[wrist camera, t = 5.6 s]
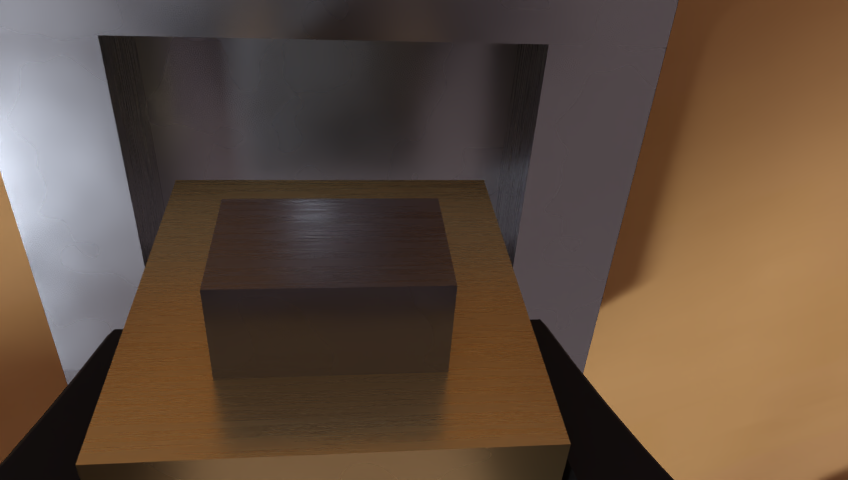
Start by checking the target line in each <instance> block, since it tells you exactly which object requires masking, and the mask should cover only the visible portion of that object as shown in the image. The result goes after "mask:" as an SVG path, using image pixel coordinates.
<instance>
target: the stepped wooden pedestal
mask: <svg viewBox="0 0 848 480" xmlns="http://www.w3.org/2000/svg"><path fill="white" fill-rule="evenodd" d="M570 445H571V443H570V440H569V437H568V434H567V431H566V428H565V425H564V422H563V419H562V416H561V413H560V410H559V407H558V404H557V401H556V398H555V395H554V392H553V389H552V386H551V383H550V379H549V376H548V373H547V370H546V367H545V364H544V361H543V358H542V355H541V352H540V349H539V346H538V343H537V340H536V337H535V334H534V331H533V328H532V325H531V322H530V319H529V316H528V313H527V310H526V307H525V304H524V301H523V298H522V294H521V291H520V288H519V285H518V282H517V279H516V276H515V273H514V270H513V267H512V264H511V261H510V258H509V255H508V252H507V249H506V246H505V243H504V240H503V237H502V234H501V231H500V228H499V225H498V222H497V219H496V216H495V213H494V209H493V206H492V203H491V200H490V197H489V194H488V191H487V188H486V185H485V182H484V180H176V181H175V184H174V187H173V190H172V192H171V195H170V198H169V201H168V204H167V207H166V210H165V212H164V215H163V218H162V221H161V224H160V227H159V229H158V232H157V235H156V238H155V241H154V244H153V246H152V249H151V252H150V255H149V258H148V261H147V263H146V266H145V269H144V272H143V275H142V278H141V280H140V283H139V286H138V289H137V292H136V295H135V297H134V300H133V303H132V306H131V309H130V312H129V314H128V317H127V320H126V323H125V326H124V329H123V331H122V334H121V337H120V340H119V343H118V346H117V348H116V351H115V354H114V357H113V360H112V363H111V365H110V368H109V371H108V374H107V377H106V380H105V382H104V385H103V388H102V391H101V394H100V397H99V399H98V402H97V405H96V408H95V411H94V414H93V416H92V419H91V422H90V425H89V428H88V431H87V434H86V436H85V439H84V442H83V445H82V448H81V451H80V453H79V456H78V459H77V462H76V469H77V472H78V475H79V478H80V480H562V476H563V472H564V469H565V465H566V461H567V457H568V453H569V449H570Z"/></svg>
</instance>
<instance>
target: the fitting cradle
mask: <svg viewBox="0 0 848 480" xmlns="http://www.w3.org/2000/svg"><path fill="white" fill-rule="evenodd" d="M677 4H678V0H0V172H1V175H2V178H3V181H4V184H5V187H6V191H7V194H8V197H9V200H10V203H11V206H12V210H13V213H14V216H15V219H16V222H17V225H18V229H19V232H20V235H21V238H22V241H23V244H24V248H25V251H26V254H27V257H28V260H29V263H30V267H31V270H32V273H33V276H34V279H35V282H36V286H37V289H38V292H39V295H40V298H41V301H42V305H43V308H44V311H45V314H46V317H47V321H48V324H49V327H50V330H51V333H52V336H53V340H54V343H55V346H56V349H57V352H58V355H59V359H60V362H61V365H62V368H63V371H64V374H65V378H66V381H67V384H69V383H70V382H71V381H72V379H73V378H74V377H75V376H76V374H77V373H78V372H79V371H80V369H81V368H82V367H83V366H84V364H85V363H86V362H87V361H88V359H89V358H90V357H91V356H92V354H93V353H94V352H95V350H96V349H97V348H98V347H99V345H100V344H101V343H102V342H103V340H104V339H105V338H106V337H107V335H109V334H110V333H111V332H112V331H113V330H114V329H124V326H125V323H126V320H127V317H128V314H129V312H130V309H131V306H132V303H133V300H134V297H135V295H136V292H137V289H138V286H139V283H140V280H141V278H142V275H143V272H144V269H145V266H146V263H147V261H148V258H149V255H150V252H151V249H152V246H153V244H154V241H155V238H156V235H157V232H158V229H159V227H160V224H161V221H162V218H163V215H164V212H165V210H166V207H167V204H168V201H169V198H170V195H171V192H172V190H173V187H174V184H175V181H176V180H484V182H485V185H486V188H487V191H488V194H489V197H490V200H491V203H492V206H493V209H494V213H495V216H496V219H497V222H498V225H499V228H500V231H501V234H502V237H503V240H504V243H505V246H506V249H507V252H508V255H509V258H510V261H511V264H512V267H513V270H514V273H515V276H516V279H517V282H518V285H519V288H520V291H521V294H522V298H523V301H524V304H525V307H526V310H527V313H528V316H529V319H530V320H533V319H540V320H541V321H542V322H543V323H544V324H545V325H546V326H547V327H548V328H549V330H550V331H551V333H552V334H553V335H554V337H555V338H556V339H557V341H558V342H559V343H560V345H561V346H562V347H563V349H564V350H565V351H566V352H567V354H568V355H569V356H570V358H571V359H572V360H573V362H574V363H575V364H576V366H577V367H578V368H579V369H580V371H581V372H582V373H583V371H584V367H585V364H586V360H587V356H588V352H589V348H590V344H591V340H592V336H593V332H594V328H595V325H596V321H597V317H598V313H599V309H600V305H601V301H602V297H603V293H604V289H605V285H606V282H607V278H608V274H609V270H610V266H611V262H612V258H613V254H614V250H615V246H616V243H617V239H618V235H619V231H620V227H621V223H622V219H623V215H624V211H625V207H626V203H627V200H628V196H629V192H630V188H631V184H632V180H633V176H634V172H635V168H636V164H637V161H638V157H639V153H640V149H641V145H642V141H643V137H644V133H645V129H646V125H647V122H648V118H649V114H650V110H651V106H652V102H653V98H654V94H655V90H656V86H657V82H658V79H659V75H660V71H661V67H662V63H663V59H664V55H665V51H666V47H667V43H668V40H669V36H670V32H671V28H672V24H673V20H674V16H675V12H676V8H677Z"/></svg>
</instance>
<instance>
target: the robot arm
mask: <svg viewBox="0 0 848 480" xmlns="http://www.w3.org/2000/svg"><path fill="white" fill-rule="evenodd" d="M530 322H531V325H532V328H533V331H534V334H535V337H536V340H537V343H538V346H539V349H540V352H541V355H542V358H543V361H544V364H545V367H546V370H547V373H548V376H549V379H550V383H551V386H552V389H553V392H554V395H555V398H556V401H557V404H558V407H559V410H560V413H561V416H562V419H563V422H564V425H565V428H566V431H567V434H568V437H569V440H570V443H571V445H570V449H569V453H568V457H567V461H566V465H565V469H564V472H563V476H562V480H674V479H673V478H672V477H671V476H670V475H669V474H668V473H667V472H666V471H665V470H664V469H663V468H662V467H661V466H660V464H659V463H658V462H657V461H656V460H655V459H654V458H653V457H652V456H651V454H650V453H649V452H648V451H647V450H646V449H645V448H644V447H643V446H642V444H641V443H640V442H639V441H638V440H637V439H636V437H635V436H634V435H633V434H632V433H631V432H630V430H629V429H628V428H627V427H626V426H625V425H624V423H623V422H622V421H621V420H620V419H619V418H618V416H617V415H616V414H615V413H614V412H613V411H612V409H611V408H610V407H609V406H608V405H607V403H606V402H605V401H604V400H603V398H602V397H601V396H600V395H599V393H598V392H597V391H596V390H595V388H594V387H593V386H592V385H591V383H590V382H589V381H588V380H587V378H586V377H585V376H584V375H583V373H582V372H581V371H580V369H579V368H578V367H577V366H576V364H575V363H574V362H573V360H572V359H571V358H570V356H569V355H568V354H567V352H566V351H565V350H564V349H563V347H562V346H561V345H560V343H559V342H558V341H557V339H556V338H555V337H554V335H553V334H552V333H551V331H550V330H549V328H548V327H547V326H546V325H545V324H544V323H543V322H542V321H541V320H540V319H533V320H530ZM122 331H123V329H114V330H113V331H112V332H111V333H110V334H109V335H107V337H106V338H105V339H104V340H103V342H102V343H101V344H100V345H99V347H98V348H97V349H96V350H95V352H94V353H93V354H92V356H91V357H90V358H89V359H88V361H87V362H86V363H85V364H84V366H83V367H82V368H81V369H80V371H79V372H78V373H77V374H76V376H75V377H74V378H73V379H72V381H71V382H70V383H69V384H68V386H67V387H66V388H65V389H64V390H63V392H62V393H61V394H60V395H59V397H58V398H57V399H56V400H55V401H54V403H53V404H52V405H51V406H50V407H49V409H48V410H47V411H46V412H45V414H44V415H43V416H42V417H41V418H40V419H39V420H38V422H37V423H36V424H35V425H34V426H33V427H32V429H31V430H30V431H29V432H28V433H27V434H26V435H25V437H24V438H23V439H22V440H21V441H20V442H19V444H18V445H17V446H16V447H15V448H14V449H13V450H12V452H11V453H10V454H9V455H8V456H7V457H6V459H5V460H4V461H3V462H2V463H1V464H0V480H80V478H79V475H78V472H77V469H76V462H77V459H78V456H79V453H80V451H81V448H82V445H83V442H84V439H85V436H86V434H87V431H88V428H89V425H90V422H91V419H92V416H93V414H94V411H95V408H96V405H97V402H98V399H99V397H100V394H101V391H102V388H103V385H104V382H105V380H106V377H107V374H108V371H109V368H110V365H111V363H112V360H113V357H114V354H115V351H116V348H117V346H118V343H119V340H120V337H121V334H122Z"/></svg>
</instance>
